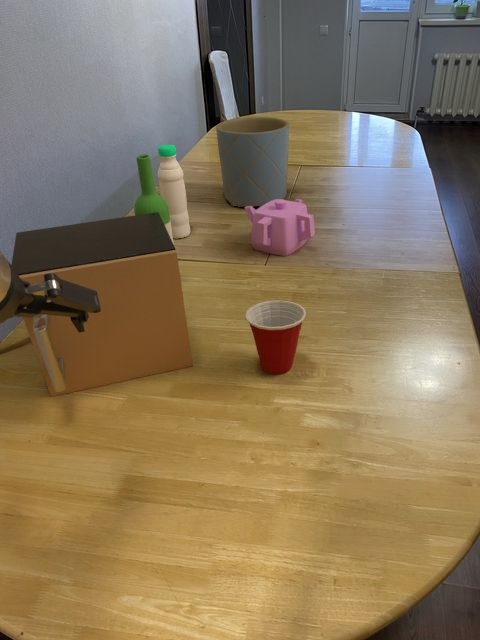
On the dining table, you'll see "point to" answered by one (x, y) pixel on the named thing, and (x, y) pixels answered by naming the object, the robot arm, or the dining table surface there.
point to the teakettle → (280, 226)
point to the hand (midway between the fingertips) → (25, 332)
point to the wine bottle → (150, 194)
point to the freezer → (89, 243)
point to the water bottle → (173, 191)
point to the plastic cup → (276, 333)
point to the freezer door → (115, 325)
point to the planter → (253, 159)
